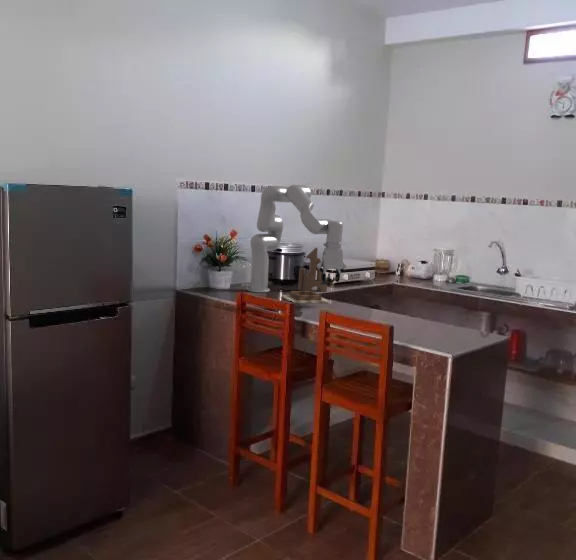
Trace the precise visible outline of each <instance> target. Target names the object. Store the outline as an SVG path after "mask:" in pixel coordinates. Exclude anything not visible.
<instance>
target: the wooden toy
mask: <svg viewBox="0 0 576 560" xmlns="http://www.w3.org/2000/svg"><path fill="white" fill-rule="evenodd" d="M318 252H319V251H318V247H315V248H314V249H312V251H310V253H308V254H307V255H306V256H305V259H309V269H308V271H307V273H306V268H305V267H299V269H298V290H297V291H311V290H312V289H313V288H315V287H316V290H317V291H318V290H319V291H318V292H320V291H321V292H320V293H327V292H328V291H327V290H328V284H327V285H321V283H322V282H323V281H322V279H321V277H322V273H321V271H320V270H319V269H318V267H317V264H319V263H320V262H321V261H322V259H321V258H319V257H318ZM321 268H322V269H323V267H322V266H321Z"/></svg>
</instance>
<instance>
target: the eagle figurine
mask: <svg viewBox="0 0 576 560" xmlns="http://www.w3.org/2000/svg"><path fill="white" fill-rule="evenodd" d="M336 279H338V277H337V278H336ZM336 279H335V276H333V277H332V278H331V273H330V272H328V275H326V281H325V282H324V281H323V282H322V283H321V285H327V286H328V283H329V284H330V286H331V287H332V286H333V285H334V284H333V283H334V282H336V281H335V280H336Z"/></svg>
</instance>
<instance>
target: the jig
mask: <svg viewBox="0 0 576 560" xmlns="http://www.w3.org/2000/svg"><path fill="white" fill-rule="evenodd" d="M281 298H283V299H285V300H286V301H288V302H290V301H292V302H294V303H293V304H330V300H328V299H326V298H324V297H322V295H321V294H319V293H317V292H315V291H311V290H310V291H299V290H291V291H289V294H281ZM292 302H291V303H292Z"/></svg>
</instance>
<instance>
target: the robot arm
mask: <svg viewBox="0 0 576 560" xmlns="http://www.w3.org/2000/svg"><path fill="white" fill-rule="evenodd" d="M260 195H261V197H260V206H259V211H258V217H257V221H256V228H257V230H258V231H259V232H263V233H257V234H254V235H253V236H252V237H251V238H250V249H251V250H250V251H251V264H250V265H251V266H250V281H248V282H247V283H241V287H242V288H246V289H247V291H248V292H252V293H269V292H270V291H271V289H270V288H269V287H268V279H269V262H270V261H269V255H268V252H272V251H276V250H277V249H278V248H279V246H280V243H281V240H282V235H283V229H284V220H283V218H282V217H281V215H278V214H276V203H291V204H292V205H293V206H294V207H295V209H297V211H298V212H299V214H300V216H299V217H300V220H301V223H302V224H303V226H304V227H305V228H306V230H308V231H309V233H311V234H313V235H326V239H325V240H326V241H325V242H324V243H323V246H324V247H325V248H324V249H323V251H322V252H323V253H322V256H321V262H320V263H319V264H317V267H318V269H319V270H320V271H321V273H322V277H321V279H322V281H324V282H325V281H326V277H327V274H326V272H327V270H335V271H336V273H335V276H334V278H335V279H336V278H337V277H338V279H336V280H335V281H334V282H337V283H339V282H340V278H341V274H342V273H343V272H344V271H345V270H346V269H347V265H346V264H345V263H344V254H343V253H344V252H343V249H342V241H343V240H342V239H343V229H344V223H343V222H342V221H339V220H338V221H337V220H331V219H328V218H317V217H315V216H314V214H313V213H312V212H311V211H312V210H313V209H314V206H315V205H314V204H315V203H314V202H313V200H312V199H311V196H312V192H311V189H310V188H309V187H308V186H307V185H303V184H292V185H289V186H283V185H270V186H267V187H265V188H264V189H263V190H262V192H261V194H260ZM275 202H276V203H275ZM321 266H322V268H321Z"/></svg>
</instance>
